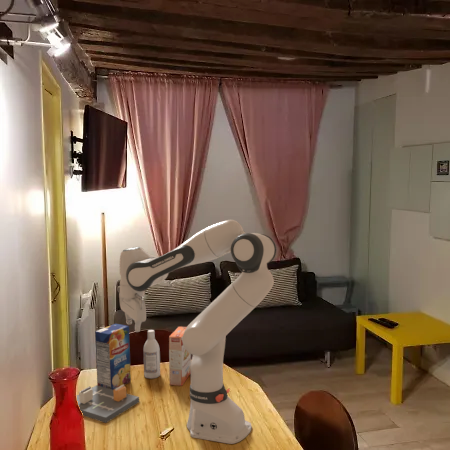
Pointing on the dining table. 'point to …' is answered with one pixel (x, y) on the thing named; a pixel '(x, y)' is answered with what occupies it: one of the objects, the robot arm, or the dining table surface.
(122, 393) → the orange knob
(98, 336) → the juice carton
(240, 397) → the dining table surface
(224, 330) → the robot arm
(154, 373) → the bath foam
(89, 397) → the ivory knob
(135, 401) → the console board
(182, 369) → the cracker box
